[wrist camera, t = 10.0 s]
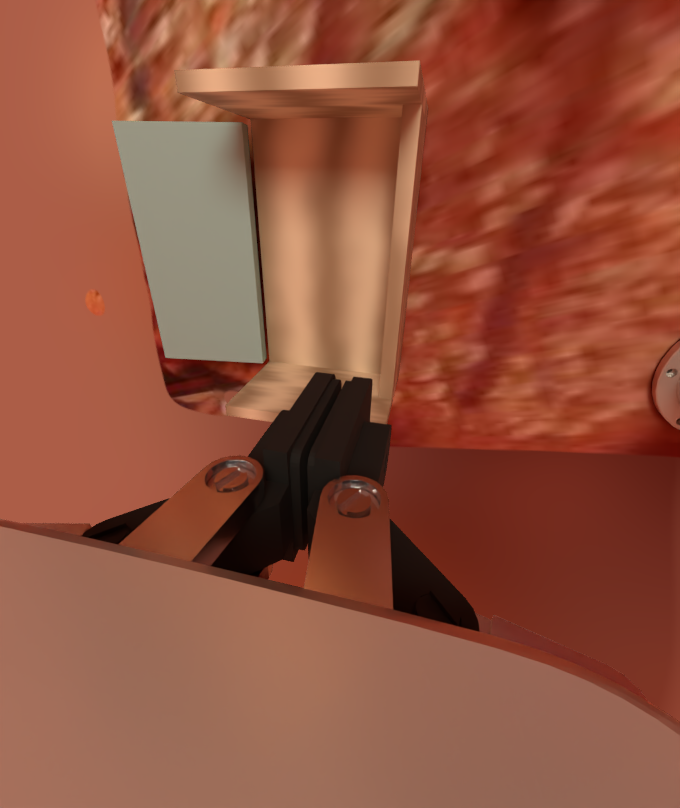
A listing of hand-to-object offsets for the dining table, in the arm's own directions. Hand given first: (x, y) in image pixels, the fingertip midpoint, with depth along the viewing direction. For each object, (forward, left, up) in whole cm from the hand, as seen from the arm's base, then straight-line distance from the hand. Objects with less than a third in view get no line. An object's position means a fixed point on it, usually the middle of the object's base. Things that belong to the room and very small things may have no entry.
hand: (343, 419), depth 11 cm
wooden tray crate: (+7, 0, -29) cm, 30 cm away
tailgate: (+14, 0, -26) cm, 30 cm away
